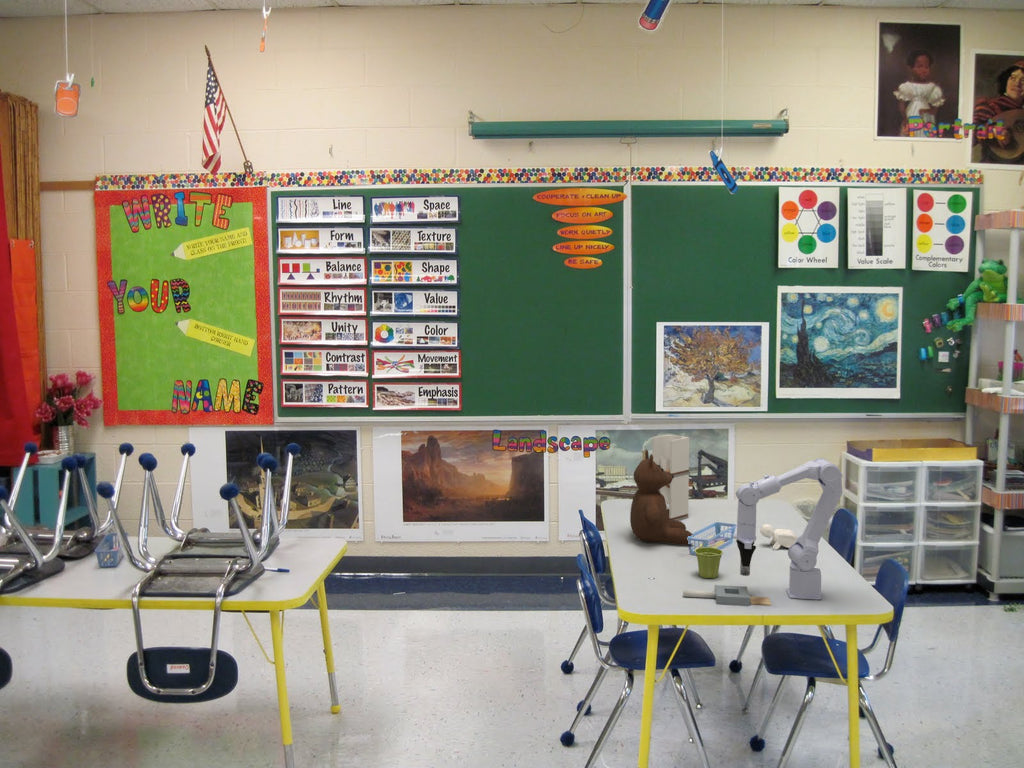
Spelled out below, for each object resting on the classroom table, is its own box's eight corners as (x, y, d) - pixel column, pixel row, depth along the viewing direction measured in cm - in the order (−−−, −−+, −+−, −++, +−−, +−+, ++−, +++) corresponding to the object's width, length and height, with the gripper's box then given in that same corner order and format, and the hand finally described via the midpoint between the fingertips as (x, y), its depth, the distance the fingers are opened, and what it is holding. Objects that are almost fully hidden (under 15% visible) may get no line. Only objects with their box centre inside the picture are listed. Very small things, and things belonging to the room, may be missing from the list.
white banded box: (668, 513, 366) (669, 434, 362) (688, 518, 358) (689, 437, 354) (651, 518, 359) (652, 437, 355) (670, 523, 351) (672, 440, 347)
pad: (768, 598, 264) (768, 597, 264) (771, 605, 258) (771, 604, 258) (749, 597, 265) (749, 596, 265) (751, 604, 259) (751, 603, 259)
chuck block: (746, 594, 268) (746, 586, 268) (749, 605, 258) (750, 597, 258) (682, 590, 272) (682, 583, 271) (683, 602, 262) (683, 594, 262)
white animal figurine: (791, 552, 321) (754, 536, 322) (800, 532, 319) (763, 516, 321) (795, 559, 312) (757, 543, 314) (804, 538, 311) (766, 522, 313)
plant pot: (688, 576, 286) (689, 551, 285) (704, 569, 292) (704, 545, 291) (712, 582, 279) (713, 557, 278) (727, 575, 286) (728, 550, 285)
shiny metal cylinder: (749, 572, 268) (749, 548, 267) (750, 575, 265) (751, 551, 264) (739, 572, 269) (740, 548, 268) (740, 575, 266) (741, 551, 265)
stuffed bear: (698, 552, 312) (701, 459, 309) (637, 551, 312) (639, 459, 308) (681, 530, 341) (684, 445, 338) (625, 529, 341) (627, 445, 337)
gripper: (731, 516, 273) (730, 556, 274) (735, 528, 259) (734, 571, 260) (754, 517, 272) (752, 557, 273) (759, 529, 257) (757, 572, 259)
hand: (745, 564), depth 267 cm, fingers closed on shiny metal cylinder, 3 cm apart
